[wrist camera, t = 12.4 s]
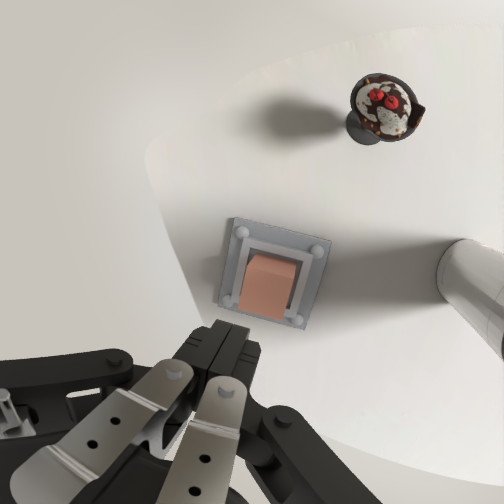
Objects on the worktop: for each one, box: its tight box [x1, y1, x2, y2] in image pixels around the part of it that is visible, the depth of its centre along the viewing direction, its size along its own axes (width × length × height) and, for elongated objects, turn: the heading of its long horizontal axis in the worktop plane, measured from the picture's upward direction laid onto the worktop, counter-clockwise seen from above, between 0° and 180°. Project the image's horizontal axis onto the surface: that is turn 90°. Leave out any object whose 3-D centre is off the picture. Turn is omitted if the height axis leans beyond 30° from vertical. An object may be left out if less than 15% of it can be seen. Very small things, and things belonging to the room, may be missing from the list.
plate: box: [218, 218, 331, 330], centre depth 37 cm, size 12×12×2 cm
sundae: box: [347, 73, 425, 145], centre depth 24 cm, size 7×7×15 cm
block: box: [237, 253, 296, 321], centre depth 34 cm, size 5×5×6 cm
